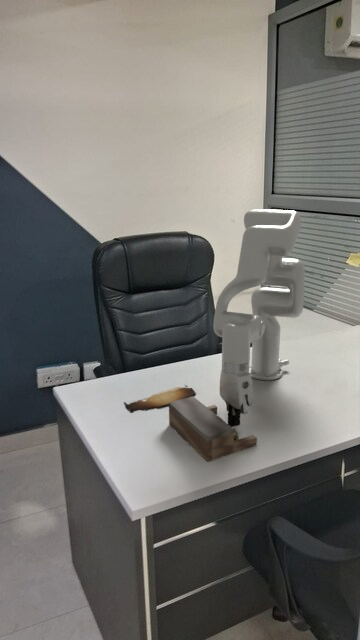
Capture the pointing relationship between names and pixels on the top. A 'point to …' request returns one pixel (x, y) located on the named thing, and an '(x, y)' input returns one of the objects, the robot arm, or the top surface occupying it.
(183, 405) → the wooden step block
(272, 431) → the top surface
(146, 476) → the top surface
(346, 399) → the top surface
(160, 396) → the parchment
